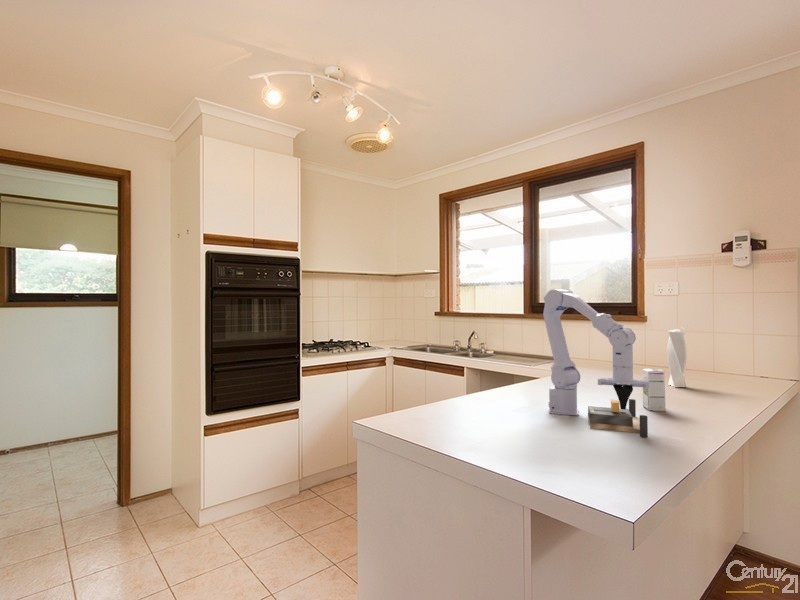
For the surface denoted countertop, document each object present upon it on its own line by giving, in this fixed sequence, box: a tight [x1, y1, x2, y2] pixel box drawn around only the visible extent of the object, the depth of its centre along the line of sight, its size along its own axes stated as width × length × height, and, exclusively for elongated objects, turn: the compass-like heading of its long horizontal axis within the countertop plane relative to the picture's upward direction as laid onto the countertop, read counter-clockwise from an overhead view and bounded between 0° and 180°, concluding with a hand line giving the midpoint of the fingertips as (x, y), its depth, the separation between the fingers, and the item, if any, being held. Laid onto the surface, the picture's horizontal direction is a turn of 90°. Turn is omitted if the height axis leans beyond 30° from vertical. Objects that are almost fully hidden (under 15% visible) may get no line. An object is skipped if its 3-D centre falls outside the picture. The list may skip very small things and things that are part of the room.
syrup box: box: [641, 368, 667, 412], centre depth 152 cm, size 6×6×14 cm
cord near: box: [639, 414, 649, 439], centre depth 121 cm, size 2×2×6 cm
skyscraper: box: [666, 326, 687, 388], centre depth 192 cm, size 8×8×28 cm
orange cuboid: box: [610, 399, 620, 412], centre depth 134 cm, size 2×4×3 cm, turn 158°
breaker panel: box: [587, 405, 640, 434], centre depth 134 cm, size 15×15×4 cm
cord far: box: [628, 398, 637, 417], centre depth 142 cm, size 2×2×6 cm
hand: (623, 408), depth 133 cm, fingers closed
